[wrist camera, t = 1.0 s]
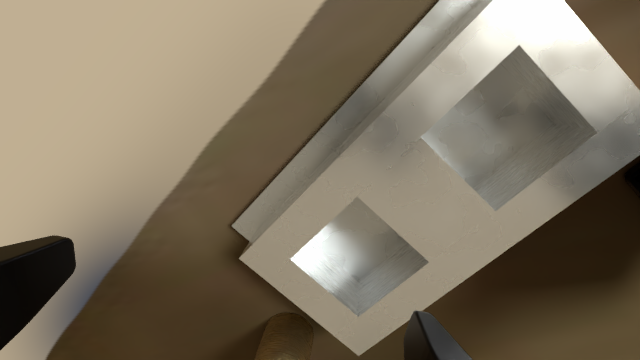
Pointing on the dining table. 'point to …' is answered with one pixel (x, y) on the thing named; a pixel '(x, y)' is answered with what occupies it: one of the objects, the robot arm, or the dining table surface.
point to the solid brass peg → (286, 338)
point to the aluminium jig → (442, 163)
